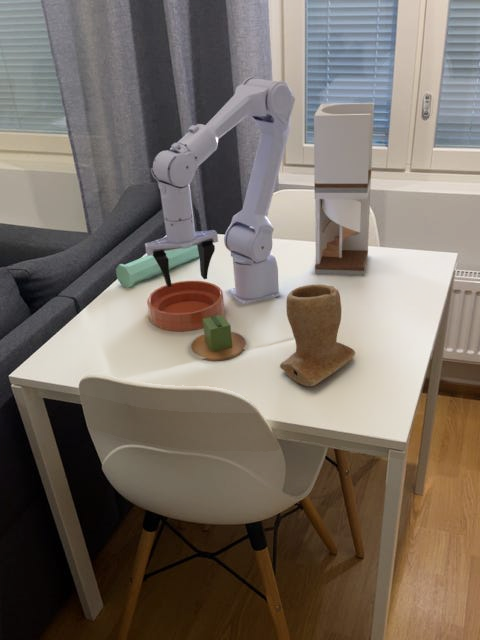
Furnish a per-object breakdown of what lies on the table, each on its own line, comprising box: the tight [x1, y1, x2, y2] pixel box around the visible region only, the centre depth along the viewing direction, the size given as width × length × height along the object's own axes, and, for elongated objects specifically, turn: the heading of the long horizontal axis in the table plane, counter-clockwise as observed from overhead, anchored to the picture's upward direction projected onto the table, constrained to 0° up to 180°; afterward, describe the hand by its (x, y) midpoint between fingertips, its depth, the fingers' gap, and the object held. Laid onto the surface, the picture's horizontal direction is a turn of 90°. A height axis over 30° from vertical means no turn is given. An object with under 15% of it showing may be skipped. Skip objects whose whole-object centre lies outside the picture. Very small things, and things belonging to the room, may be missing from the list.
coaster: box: [190, 331, 247, 362], centre depth 139 cm, size 11×11×1 cm
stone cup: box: [279, 284, 356, 387], centre depth 126 cm, size 15×12×15 cm
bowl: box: [146, 280, 225, 332], centre depth 150 cm, size 16×16×4 cm
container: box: [115, 245, 199, 288], centre depth 170 cm, size 6×6×25 cm
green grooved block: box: [203, 314, 232, 352], centre depth 137 cm, size 4×5×5 cm
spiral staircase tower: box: [313, 102, 375, 277], centre depth 156 cm, size 11×11×35 cm
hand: (186, 281), depth 143 cm, fingers open, 7 cm apart
